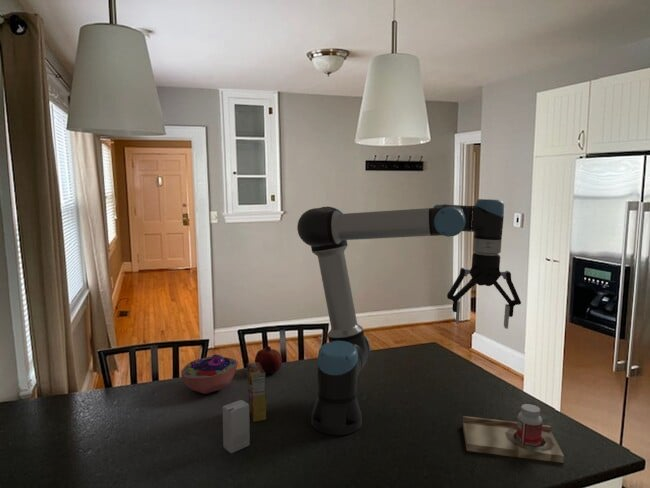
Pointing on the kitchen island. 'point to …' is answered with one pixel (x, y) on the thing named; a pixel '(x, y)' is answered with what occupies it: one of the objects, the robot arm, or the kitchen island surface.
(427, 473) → the kitchen island surface
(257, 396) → the candy box
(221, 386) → the cell model
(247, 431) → the skincare box
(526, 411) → the pill bottle
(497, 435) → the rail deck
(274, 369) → the fruit
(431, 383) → the kitchen island surface
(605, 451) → the kitchen island surface
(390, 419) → the kitchen island surface
